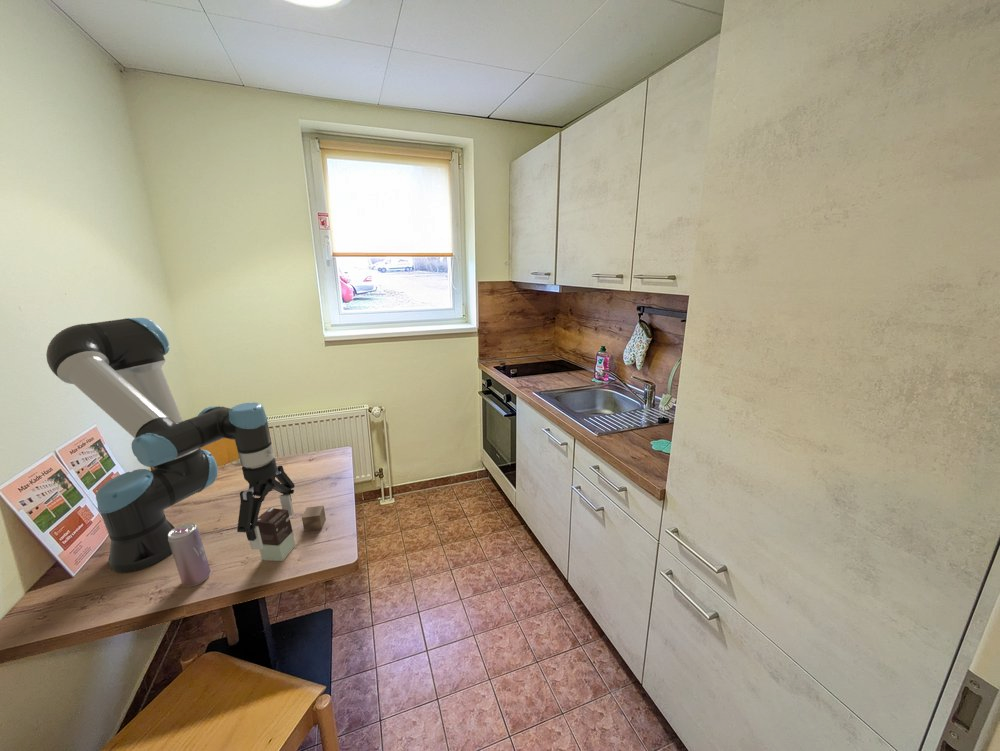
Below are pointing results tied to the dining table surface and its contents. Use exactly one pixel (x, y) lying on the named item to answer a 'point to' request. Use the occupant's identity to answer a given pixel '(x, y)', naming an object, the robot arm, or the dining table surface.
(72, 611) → the dining table surface
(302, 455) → the dining table surface
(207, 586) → the dining table surface
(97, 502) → the robot arm
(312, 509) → the walnut cube
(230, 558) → the dining table surface
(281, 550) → the base block
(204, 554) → the beverage can
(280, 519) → the box
